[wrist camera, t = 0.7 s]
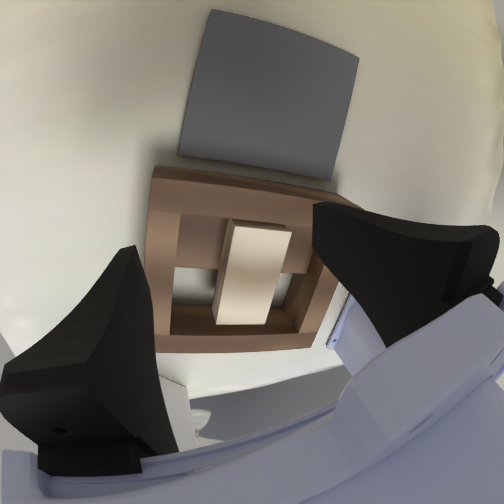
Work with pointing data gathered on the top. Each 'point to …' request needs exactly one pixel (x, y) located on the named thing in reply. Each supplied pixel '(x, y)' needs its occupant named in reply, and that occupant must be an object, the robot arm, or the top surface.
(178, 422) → the milk
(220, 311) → the birch tile
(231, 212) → the walnut frame
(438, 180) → the top surface
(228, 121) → the charcoal mat
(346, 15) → the top surface
